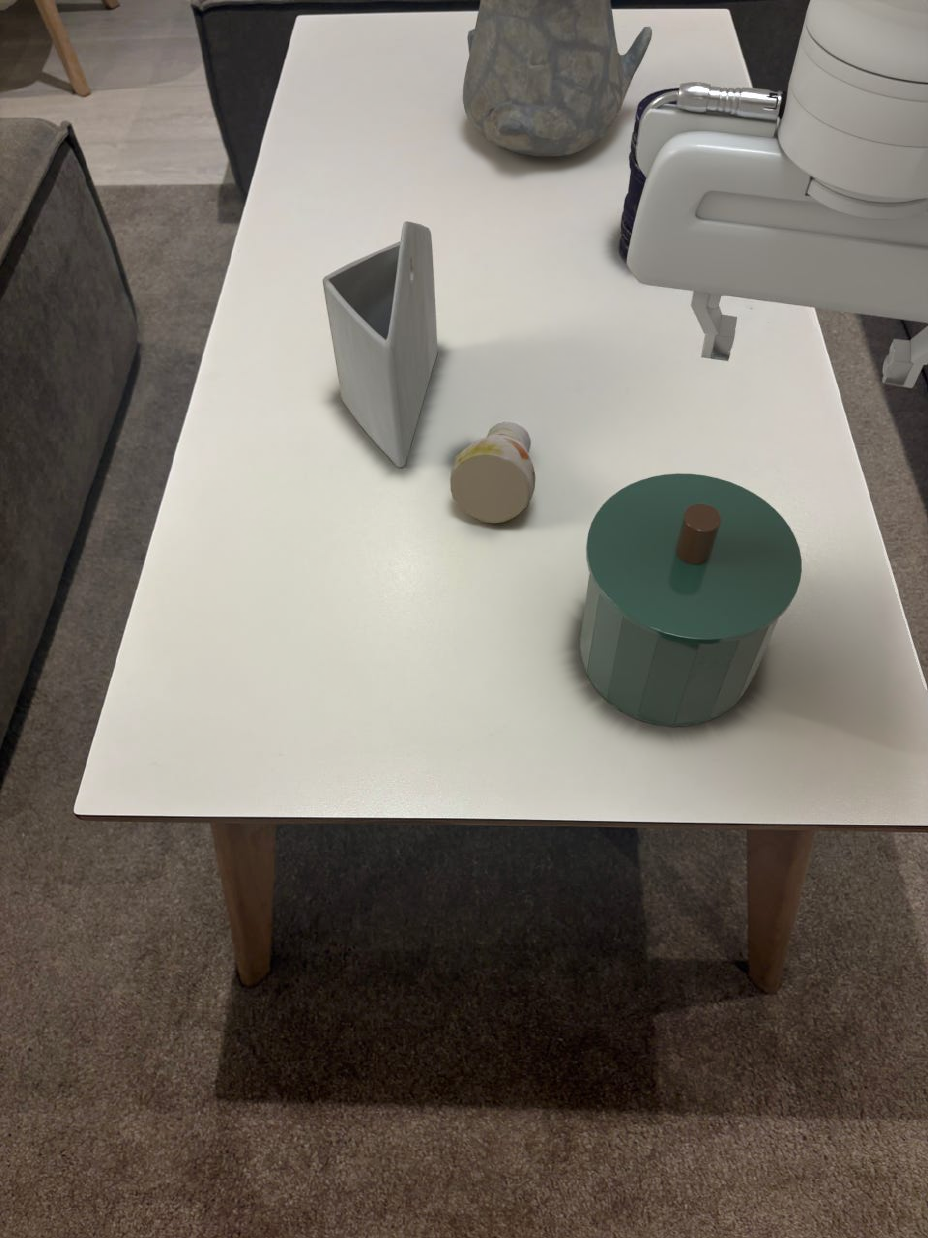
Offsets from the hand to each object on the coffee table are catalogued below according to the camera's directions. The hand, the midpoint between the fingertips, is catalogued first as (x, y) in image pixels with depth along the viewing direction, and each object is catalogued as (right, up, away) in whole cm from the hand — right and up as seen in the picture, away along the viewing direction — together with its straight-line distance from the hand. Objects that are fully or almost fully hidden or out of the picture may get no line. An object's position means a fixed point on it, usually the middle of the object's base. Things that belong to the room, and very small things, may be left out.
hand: (804, 365), depth 52 cm
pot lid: (-3, -9, +14) cm, 17 cm away
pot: (-2, -16, +24) cm, 29 cm away
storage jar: (+4, +27, +54) cm, 61 cm away
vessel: (-9, +46, +68) cm, 83 cm away
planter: (-26, +7, +41) cm, 49 cm away
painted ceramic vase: (-15, -2, +35) cm, 38 cm away
